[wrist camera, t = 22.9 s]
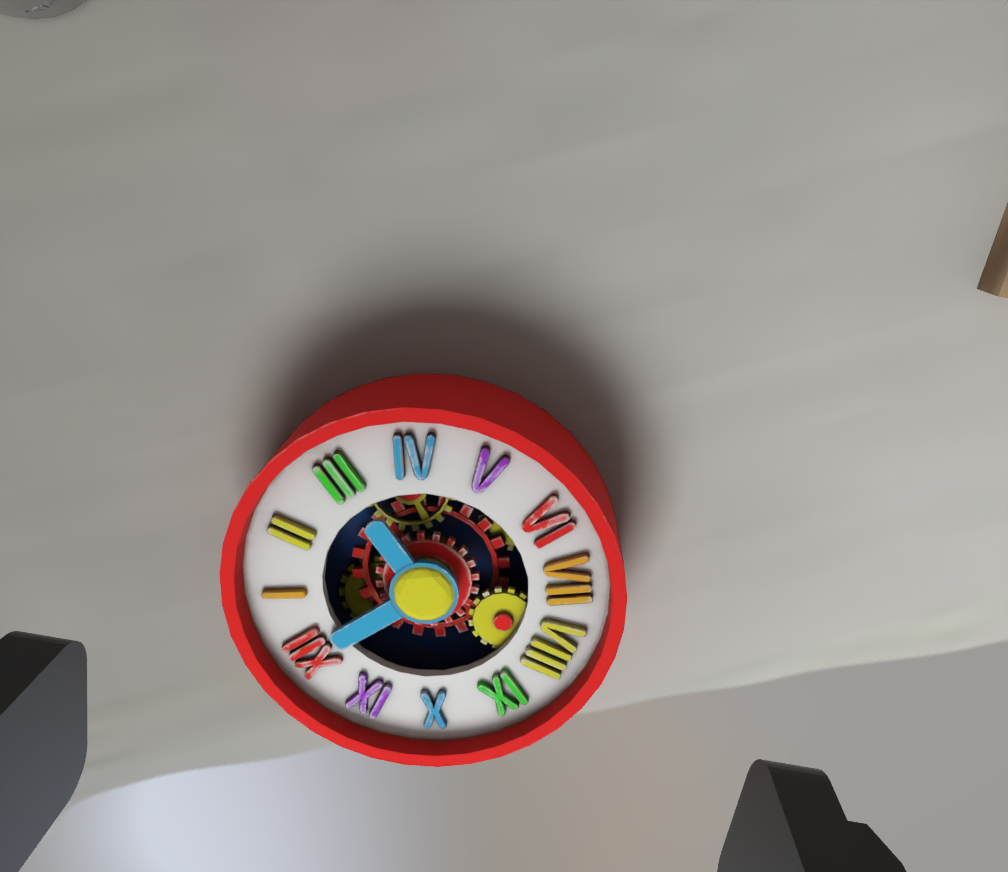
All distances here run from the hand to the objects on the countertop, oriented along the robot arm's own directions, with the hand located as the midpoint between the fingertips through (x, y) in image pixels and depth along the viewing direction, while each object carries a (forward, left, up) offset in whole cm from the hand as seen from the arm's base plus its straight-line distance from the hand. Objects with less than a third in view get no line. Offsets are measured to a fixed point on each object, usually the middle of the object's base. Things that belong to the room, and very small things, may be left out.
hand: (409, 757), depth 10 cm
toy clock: (+9, -12, -34) cm, 37 cm away
